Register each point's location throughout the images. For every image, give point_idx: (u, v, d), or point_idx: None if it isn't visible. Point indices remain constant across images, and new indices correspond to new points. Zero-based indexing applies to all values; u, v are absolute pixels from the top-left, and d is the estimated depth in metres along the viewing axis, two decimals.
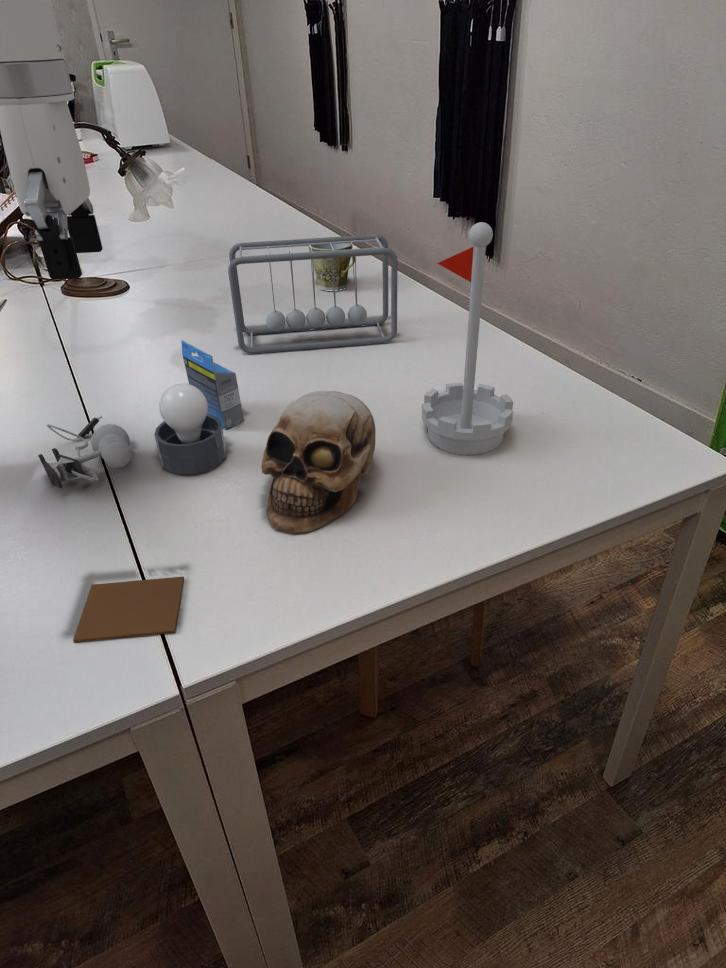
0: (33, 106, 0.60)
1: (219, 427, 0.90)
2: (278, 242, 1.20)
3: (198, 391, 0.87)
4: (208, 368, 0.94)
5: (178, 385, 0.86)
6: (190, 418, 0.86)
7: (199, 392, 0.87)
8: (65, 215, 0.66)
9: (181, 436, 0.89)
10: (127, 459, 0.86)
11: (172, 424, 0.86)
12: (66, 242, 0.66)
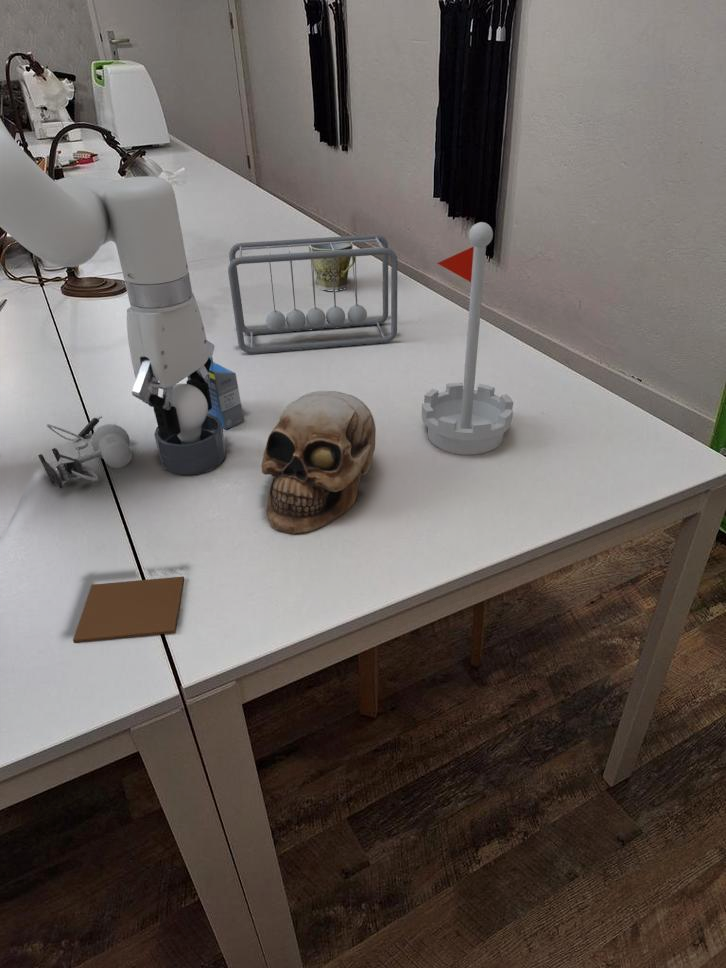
0: (147, 315, 0.76)
1: (219, 427, 0.90)
2: (278, 242, 1.20)
3: (198, 391, 0.87)
4: None
5: (178, 385, 0.86)
6: (190, 418, 0.86)
7: (199, 392, 0.87)
8: (171, 389, 0.83)
9: (181, 436, 0.89)
10: (127, 459, 0.86)
11: None
12: (169, 410, 0.84)
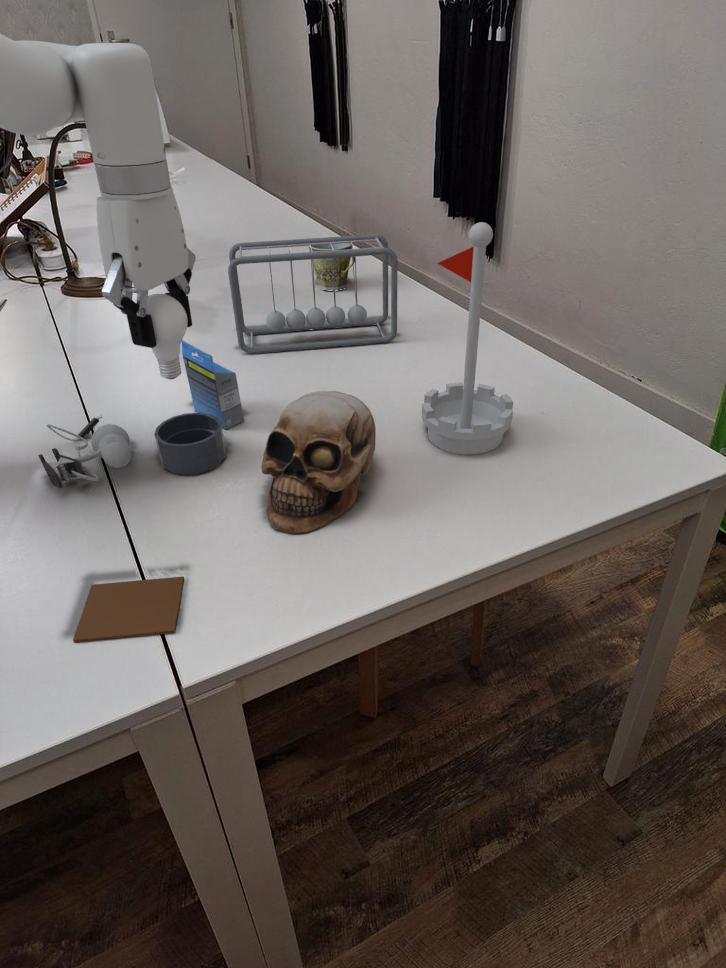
0: (119, 203, 0.69)
1: (219, 427, 0.90)
2: (278, 242, 1.20)
3: (177, 302, 0.79)
4: (208, 368, 0.94)
5: (155, 294, 0.79)
6: (167, 330, 0.78)
7: (178, 303, 0.79)
8: (146, 294, 0.75)
9: (157, 353, 0.81)
10: (127, 459, 0.86)
11: None
12: (144, 318, 0.76)
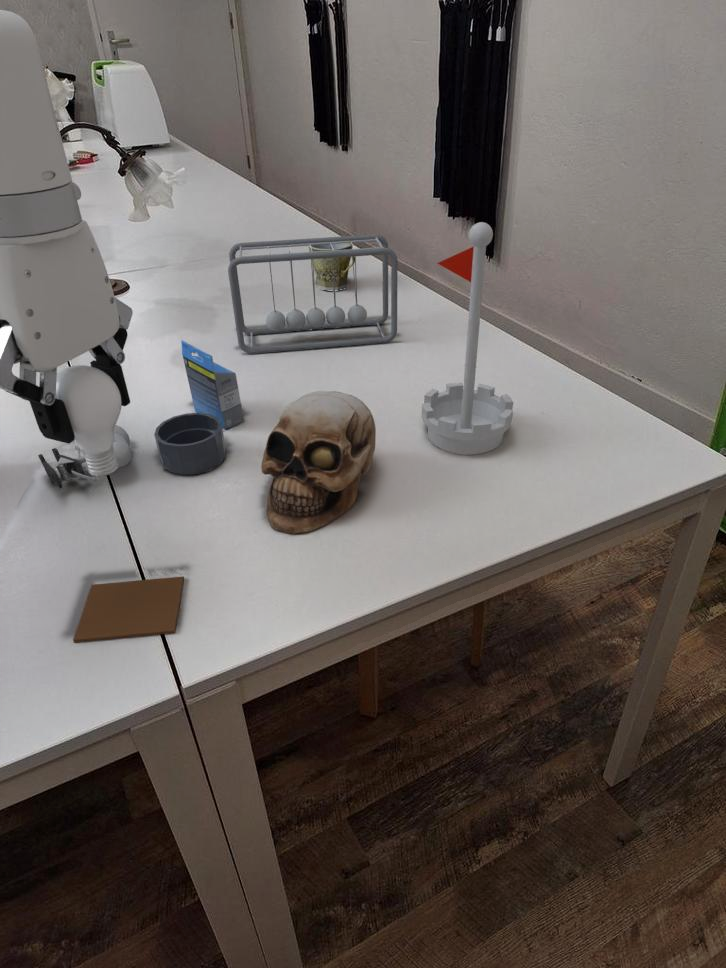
0: None
1: (219, 427, 0.90)
2: (278, 242, 1.20)
3: (104, 377, 0.57)
4: (208, 368, 0.94)
5: (72, 367, 0.57)
6: (90, 418, 0.56)
7: (105, 378, 0.57)
8: (53, 372, 0.53)
9: (81, 445, 0.59)
10: (127, 459, 0.86)
11: None
12: (54, 405, 0.54)
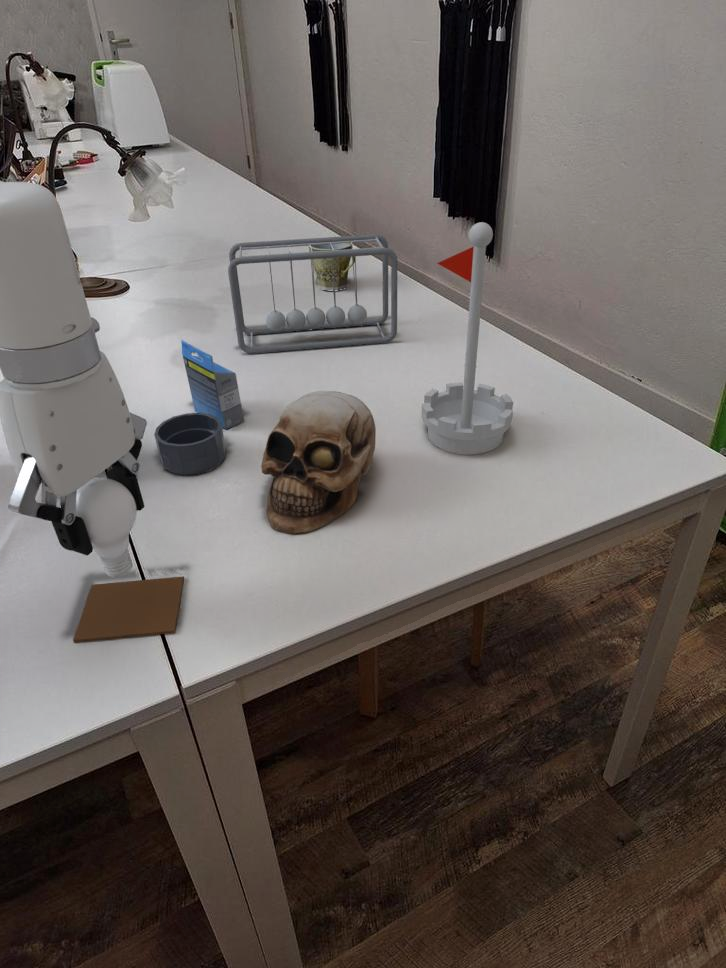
0: (25, 395, 0.50)
1: (219, 427, 0.90)
2: (278, 242, 1.20)
3: (120, 490, 0.60)
4: (208, 368, 0.94)
5: (90, 482, 0.60)
6: (107, 531, 0.59)
7: (122, 491, 0.60)
8: (73, 494, 0.56)
9: (98, 552, 0.62)
10: None
11: None
12: (73, 523, 0.57)
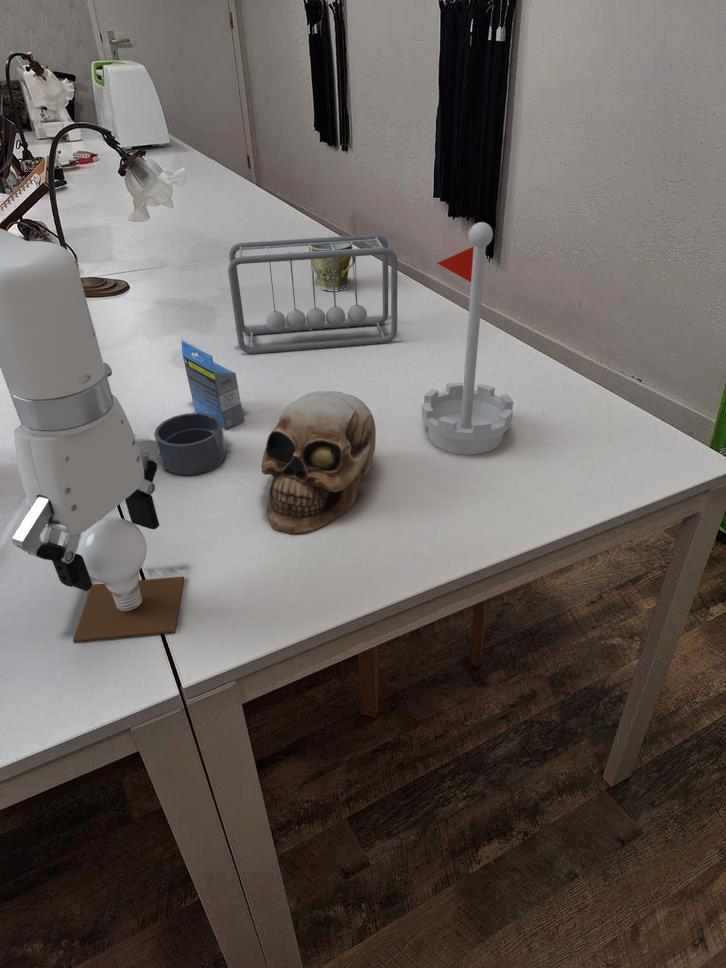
0: (41, 442, 0.52)
1: (219, 427, 0.90)
2: (278, 242, 1.20)
3: (131, 530, 0.63)
4: (208, 368, 0.94)
5: (103, 523, 0.63)
6: (119, 570, 0.62)
7: (133, 531, 0.63)
8: (78, 534, 0.58)
9: (110, 588, 0.65)
10: None
11: (94, 577, 0.62)
12: (73, 561, 0.58)
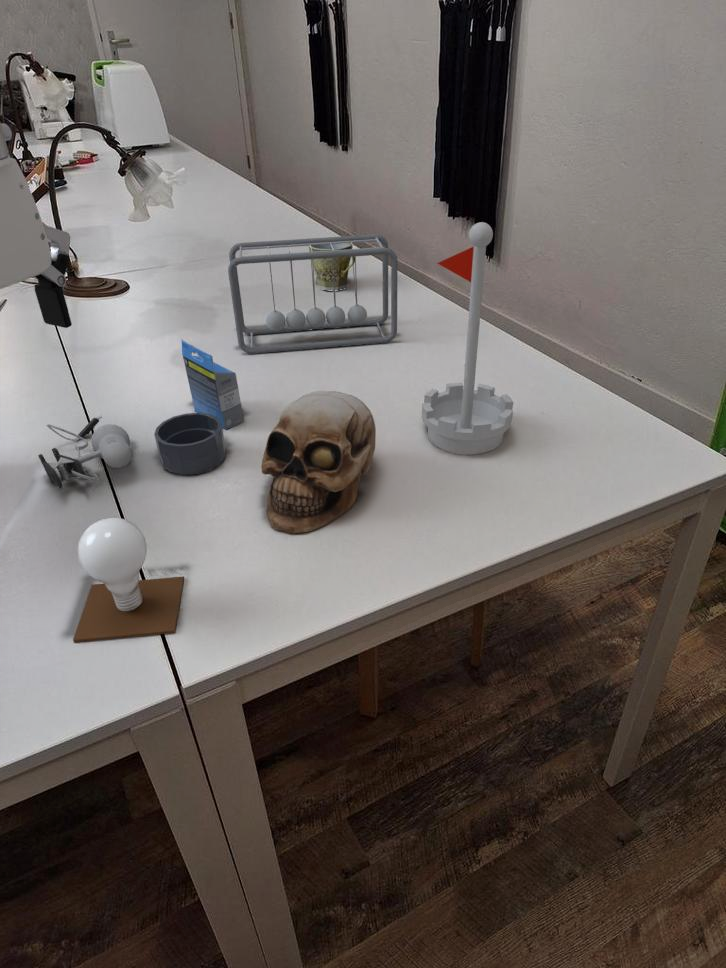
0: None
1: (219, 427, 0.90)
2: (278, 242, 1.20)
3: (131, 530, 0.63)
4: (208, 368, 0.94)
5: (103, 523, 0.63)
6: (119, 570, 0.62)
7: (133, 531, 0.63)
8: None
9: (110, 588, 0.65)
10: (127, 459, 0.86)
11: (94, 577, 0.62)
12: None
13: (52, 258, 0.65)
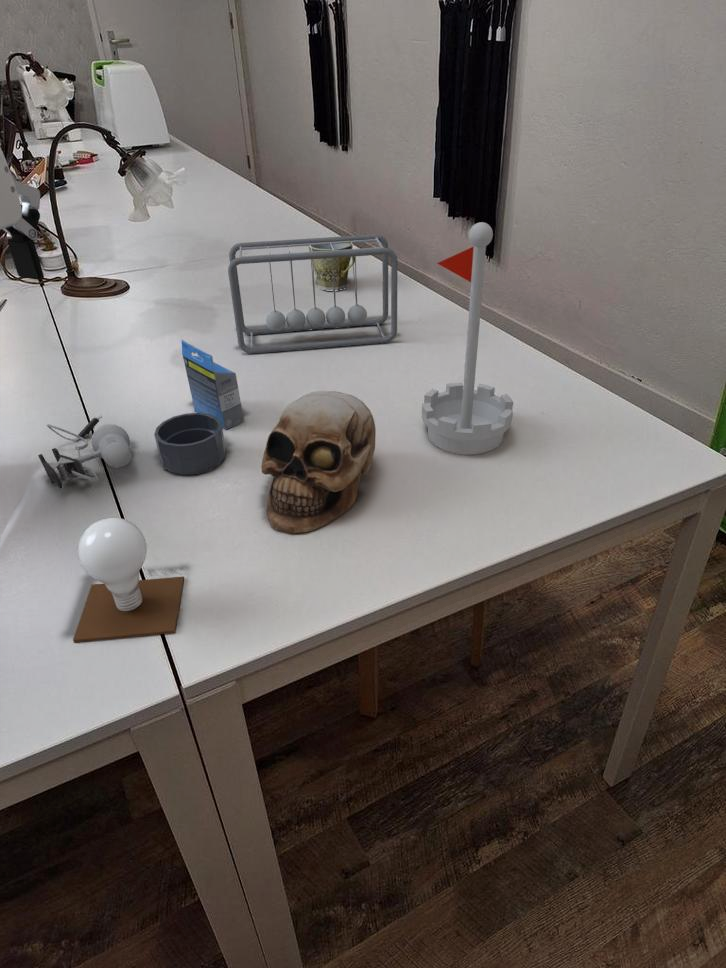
0: None
1: (219, 427, 0.90)
2: (278, 242, 1.20)
3: (131, 530, 0.63)
4: (208, 368, 0.94)
5: (103, 523, 0.63)
6: (119, 570, 0.62)
7: (133, 531, 0.63)
8: None
9: (110, 588, 0.65)
10: (127, 459, 0.86)
11: (94, 577, 0.62)
12: None
13: (23, 213, 0.69)
